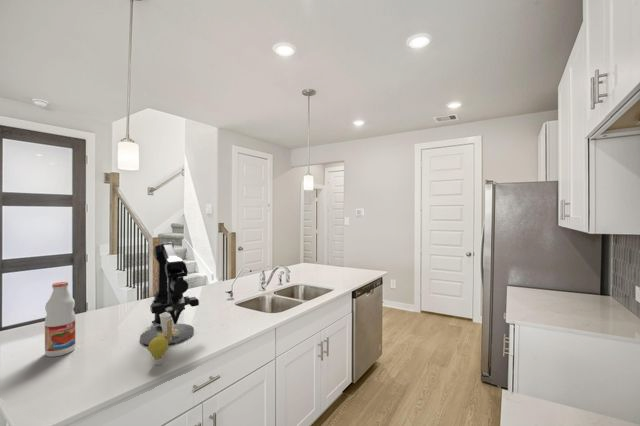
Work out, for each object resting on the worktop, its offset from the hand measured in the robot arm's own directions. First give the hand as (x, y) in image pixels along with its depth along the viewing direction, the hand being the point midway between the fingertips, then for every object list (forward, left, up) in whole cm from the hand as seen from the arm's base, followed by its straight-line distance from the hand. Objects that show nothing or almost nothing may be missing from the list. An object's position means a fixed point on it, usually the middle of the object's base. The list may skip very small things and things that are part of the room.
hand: (175, 324), depth 132 cm
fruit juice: (-34, -26, -8) cm, 44 cm away
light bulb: (+10, -16, -8) cm, 21 cm away
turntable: (-8, +3, -8) cm, 11 cm away
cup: (-8, +3, -6) cm, 11 cm away
